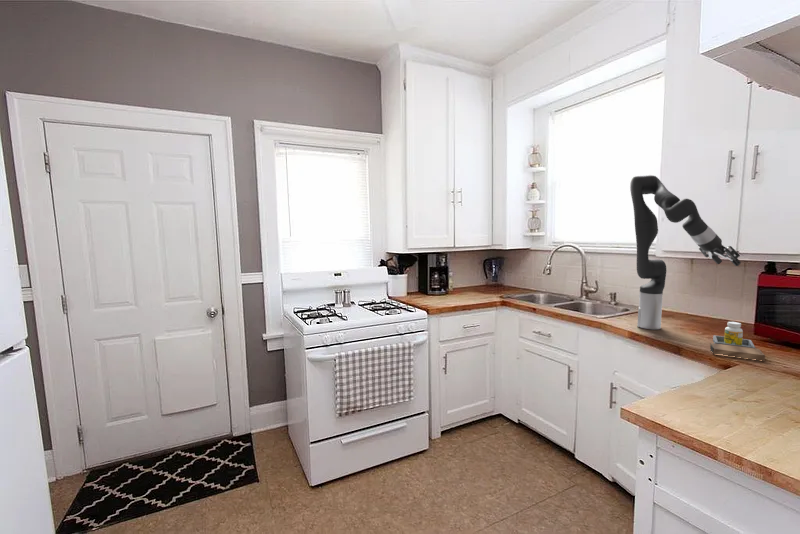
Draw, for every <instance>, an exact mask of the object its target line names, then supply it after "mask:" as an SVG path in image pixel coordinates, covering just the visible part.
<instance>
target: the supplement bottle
mask: <svg viewBox="0 0 800 534" xmlns="http://www.w3.org/2000/svg"><path fill="white" fill-rule="evenodd" d="M726 325H727V326H726V327H725V328H724V335H723V336H724V343H728V344H735V345H742V339H744V338H743V336H744V335H743V334H744V331H743V328H741V327H742V323H741V322H736V321H727V324H726Z"/></svg>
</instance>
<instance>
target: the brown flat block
mask: <svg viewBox="0 0 800 534" xmlns="http://www.w3.org/2000/svg"><path fill="white" fill-rule="evenodd" d="M709 347H710V348H709V350H710V349H711V350H710V352H711V351H712V352H713V353H714V354H723V355H728V356H735V357H741V358H748V359H756V360H762V361H764V362H765V361H766V360H765V359H766V354H764V353H763V352H762V350H761V349H760V348H756V347H755V348H748V347H740V346H731V345H723V344H715V343H713V342H711V343H710V345H709ZM712 352H711V353H712Z"/></svg>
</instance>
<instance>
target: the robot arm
mask: <svg viewBox="0 0 800 534" xmlns="http://www.w3.org/2000/svg"><path fill="white" fill-rule="evenodd" d="M629 182H630V184H629V189H630V191H629V192H630V197H631V201H632V206H633V216H634V218H633V219H634V231H635V232H634V233H635V240H636V242H635V243H636V272H637V273H636V274H637V275H638V277H639V278H640V279H642V280H643V279H644V280H645V279H646V280H647V279H648V280H649V279H650V281H649V282H648V283H645V284H643V285H641V286H640V287H639V295H638V296H639V299H638V308H637V309H638V310H637V323H636V324H637V328H641V329H645V330H646V329H648V330H661V328H662V315H663V314H662V311H663V309H662V308H663V294H664V289H665V286H666V277H667V265H666V262H665V260H662V259H649V252H650V248H651V245H653V242H654V241H655V239H656V237H657V236H658V234H659V233H658V232H659V226H658V225H659V224H658V218H657V216H656V214H655V213H654V212H653V211H652V209H651V208H650V207H649V206H648V205H647V203H646V201H645V199H644V195H651V194H652V195H654V198H653V200H654V202H655V204H656V205H657V206H658V207H659V208H661V209H662V210H663V212H664V214H665V217H666V218H667V220H668V221H670V222H671V223H675V224H676V223H680V222H682V221H683V220H684V219H685V220H684V222H683V223H682V228H683V230H684V231H685V232H686V233H687V234H688V235H689V237H690V238H691V239H692V241H693V242H694V243H695V244H696V245H697V247H698V250H699V251H700V252H701V254H702V255H703V256H704V257H705V258H709V259H712V261H714V263H716V265H720V264H721V263H723V261H722V259H721V258H723V259H728V260H729V261H730V262H731V263H732V264H733V265H734V266H735V267H739V266H740V265H741V263H742V262H741V260H739V259H738V258H739V257H741V254H740V253H738V252H737V251H736V249H734V248H733V247H732V246H731V245H729V246H727V247H725V246H724V245H723V244H722V243H723V242H722V238H720V236H719V235H718V234H717V233H716V232H715V231H714V230H713V228H711V227H710V226H709V225H708V224H707V223H706V222H705V221H704V220H703V219H702V217H701V215H700V213H699V210H698V207H697V205H696V203H695V202H694V201H693V200H692V199H690V198H682V199H680V197H678V196H676V194H674V193H673V192H671V191H669V190H668V188H667V187H666V186H665V184H664V183H663V182H662V181H661V180H660V178H658V176H656V175H652V174H649V175H634V176H633V177H631V180H630V181H629ZM686 218H687V219H686ZM720 257H721V258H720Z"/></svg>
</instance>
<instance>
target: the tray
mask: <svg viewBox="0 0 800 534" xmlns="http://www.w3.org/2000/svg"><path fill="white" fill-rule="evenodd" d="M724 336H725V335H723V336H722V335H715V334H713V336H712V343H713V342H714V343H715V344H723V345H731V346H740V347H748V348H756V346H755V345H754V342H753V341H752V340H751V339H747V338H742V345H735V344H728V343H724Z"/></svg>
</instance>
